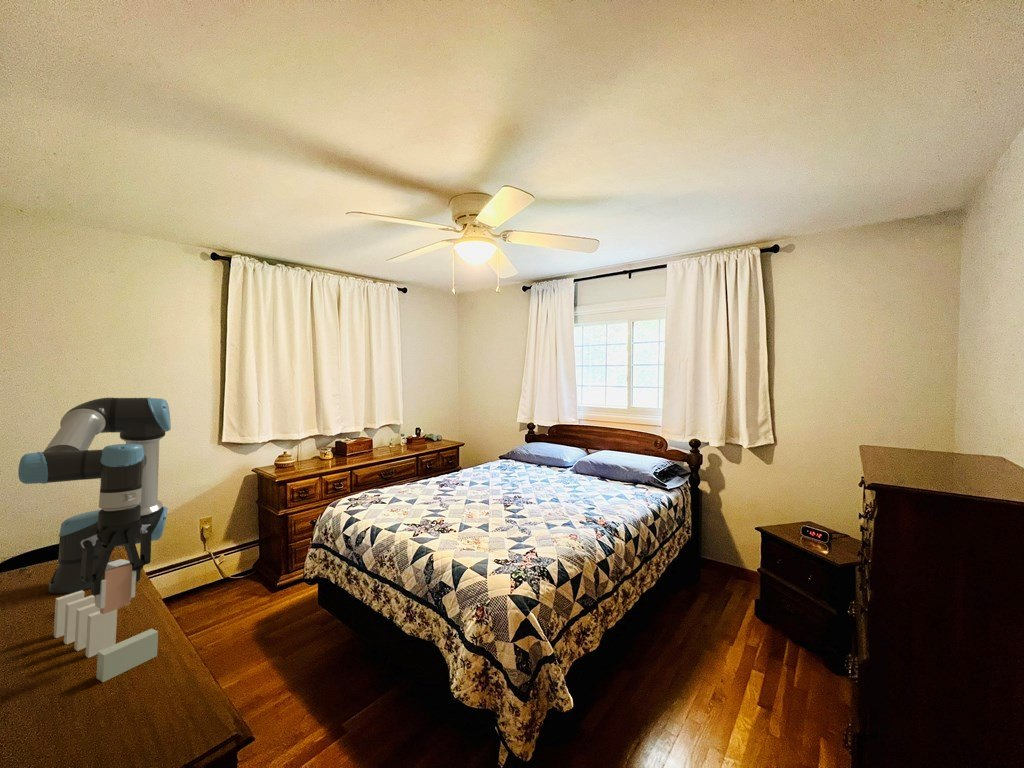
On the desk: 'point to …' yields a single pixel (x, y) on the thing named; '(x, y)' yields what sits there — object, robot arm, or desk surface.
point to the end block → (126, 654)
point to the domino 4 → (117, 587)
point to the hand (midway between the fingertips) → (115, 601)
